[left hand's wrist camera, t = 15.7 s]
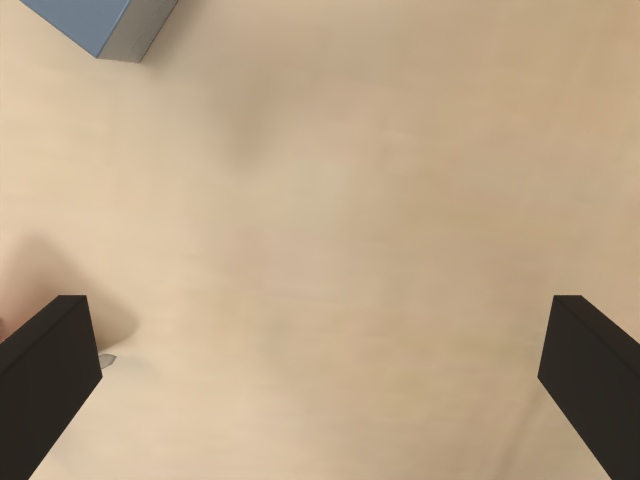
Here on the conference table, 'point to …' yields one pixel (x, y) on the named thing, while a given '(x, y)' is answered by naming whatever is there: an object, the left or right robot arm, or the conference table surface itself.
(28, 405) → the left robot arm
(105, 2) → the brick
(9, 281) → the conference table surface
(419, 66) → the conference table surface
